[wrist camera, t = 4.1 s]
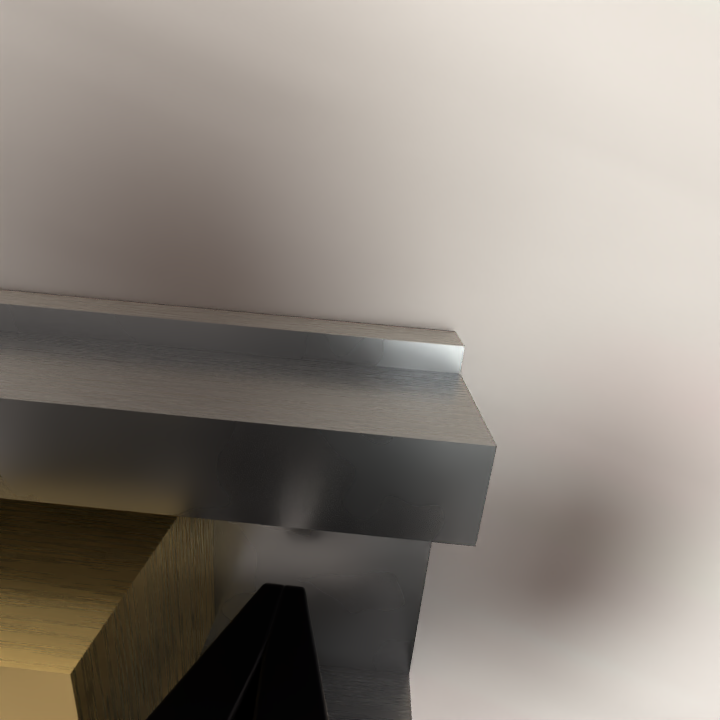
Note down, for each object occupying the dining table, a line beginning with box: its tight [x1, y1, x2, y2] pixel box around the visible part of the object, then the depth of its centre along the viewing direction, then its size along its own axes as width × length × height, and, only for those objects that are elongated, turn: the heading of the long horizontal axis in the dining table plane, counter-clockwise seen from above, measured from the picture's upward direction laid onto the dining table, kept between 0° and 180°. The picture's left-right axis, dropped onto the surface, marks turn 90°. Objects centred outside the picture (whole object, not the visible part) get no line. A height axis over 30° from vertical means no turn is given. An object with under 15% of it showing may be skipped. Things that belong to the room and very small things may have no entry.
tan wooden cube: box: [0, 498, 215, 720], centre depth 7 cm, size 4×4×4 cm
